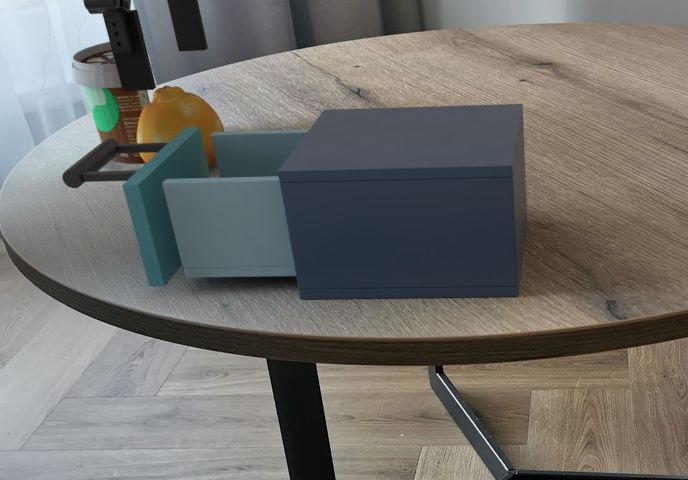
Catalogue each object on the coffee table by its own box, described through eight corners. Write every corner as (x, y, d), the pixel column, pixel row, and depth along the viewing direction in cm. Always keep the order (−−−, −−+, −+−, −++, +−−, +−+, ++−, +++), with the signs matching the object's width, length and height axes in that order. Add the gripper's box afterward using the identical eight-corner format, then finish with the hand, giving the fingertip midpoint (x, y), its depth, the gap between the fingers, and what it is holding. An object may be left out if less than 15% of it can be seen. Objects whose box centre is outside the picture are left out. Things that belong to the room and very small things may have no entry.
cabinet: (300, 299, 68) (277, 171, 63) (340, 222, 80) (323, 109, 75) (518, 296, 67) (512, 165, 62) (527, 219, 79) (522, 103, 74)
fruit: (138, 133, 96) (127, 74, 89) (222, 129, 98) (217, 70, 92) (144, 198, 92) (133, 141, 85) (231, 191, 95) (227, 135, 88)
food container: (98, 138, 103) (72, 43, 98) (157, 130, 105) (135, 36, 100) (89, 175, 93) (60, 72, 88) (155, 166, 94) (129, 64, 89)
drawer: (73, 287, 70) (41, 184, 66) (140, 219, 80) (115, 127, 76) (345, 283, 68) (330, 177, 64) (377, 214, 79) (365, 119, 75)
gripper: (81, -193, 67) (156, 107, 78) (201, -202, 88) (247, 34, 99) (-20, -186, 67) (68, 111, 78) (123, -197, 89) (177, 37, 100)
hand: (168, 68), depth 89 cm, fingers open, 13 cm apart
